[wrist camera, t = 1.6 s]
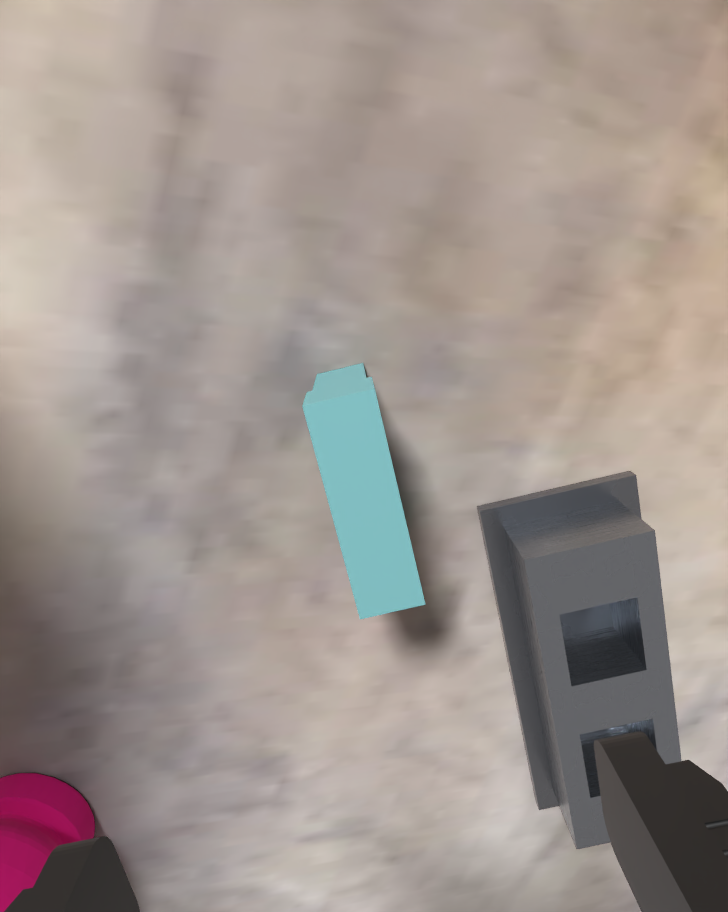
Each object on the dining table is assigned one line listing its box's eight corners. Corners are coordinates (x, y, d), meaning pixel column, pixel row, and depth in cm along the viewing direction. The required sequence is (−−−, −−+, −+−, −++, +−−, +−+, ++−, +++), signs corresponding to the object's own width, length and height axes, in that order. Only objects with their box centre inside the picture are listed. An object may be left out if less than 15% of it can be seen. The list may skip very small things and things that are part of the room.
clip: (312, 375, 27) (302, 406, 20) (367, 361, 26) (374, 388, 20) (357, 544, 29) (360, 619, 22) (408, 532, 29) (425, 604, 22)
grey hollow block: (476, 506, 28) (497, 542, 25) (629, 470, 28) (675, 501, 24) (535, 800, 33) (560, 869, 29) (667, 772, 33) (710, 838, 29)
